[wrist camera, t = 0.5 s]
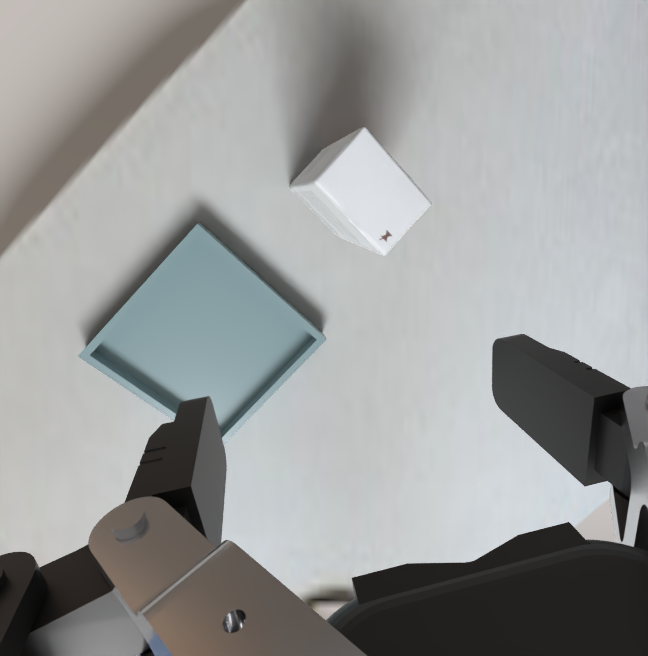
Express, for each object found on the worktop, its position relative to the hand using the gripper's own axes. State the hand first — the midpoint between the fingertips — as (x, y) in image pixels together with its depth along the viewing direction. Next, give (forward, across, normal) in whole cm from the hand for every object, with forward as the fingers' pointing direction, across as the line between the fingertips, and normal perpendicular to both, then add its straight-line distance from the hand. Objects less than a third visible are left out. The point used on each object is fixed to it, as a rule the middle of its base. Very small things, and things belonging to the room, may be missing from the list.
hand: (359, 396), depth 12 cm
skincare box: (+26, -4, -4) cm, 26 cm away
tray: (+25, +8, +6) cm, 27 cm away
